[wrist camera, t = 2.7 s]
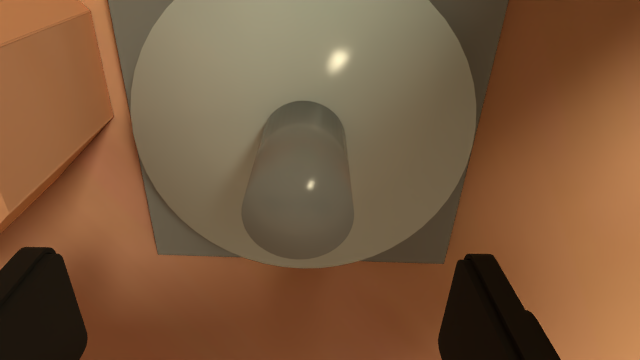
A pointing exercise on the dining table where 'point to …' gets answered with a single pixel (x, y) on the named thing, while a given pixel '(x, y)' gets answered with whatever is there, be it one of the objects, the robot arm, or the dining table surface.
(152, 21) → the mat
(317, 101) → the lid
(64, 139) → the bowl
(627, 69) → the dining table surface
